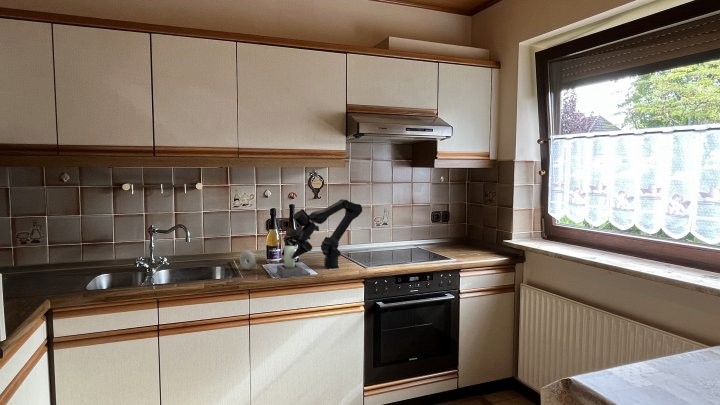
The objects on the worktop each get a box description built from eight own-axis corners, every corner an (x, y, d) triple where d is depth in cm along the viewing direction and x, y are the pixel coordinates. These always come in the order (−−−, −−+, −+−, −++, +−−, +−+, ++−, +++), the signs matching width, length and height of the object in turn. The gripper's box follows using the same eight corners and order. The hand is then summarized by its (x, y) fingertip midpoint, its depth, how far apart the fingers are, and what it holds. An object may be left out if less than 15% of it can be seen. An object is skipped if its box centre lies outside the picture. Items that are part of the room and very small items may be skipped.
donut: (238, 269, 231) (238, 250, 230) (243, 268, 234) (243, 249, 233) (252, 271, 226) (252, 252, 225) (257, 270, 228) (257, 251, 228)
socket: (303, 270, 231) (303, 262, 231) (310, 275, 221) (310, 267, 221) (276, 272, 225) (276, 264, 225) (282, 277, 215) (282, 269, 215)
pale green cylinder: (289, 270, 225) (289, 244, 224) (296, 272, 222) (296, 246, 221) (282, 272, 221) (282, 246, 220) (289, 274, 218) (289, 247, 217)
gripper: (286, 219, 229) (267, 243, 223) (307, 223, 215) (287, 249, 209) (299, 233, 235) (280, 257, 229) (320, 238, 221) (301, 263, 215)
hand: (287, 256), depth 220 cm, fingers open, 9 cm apart
